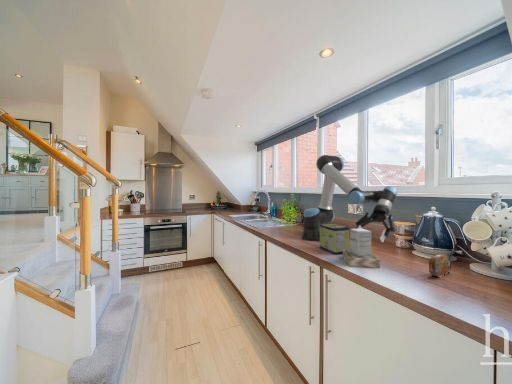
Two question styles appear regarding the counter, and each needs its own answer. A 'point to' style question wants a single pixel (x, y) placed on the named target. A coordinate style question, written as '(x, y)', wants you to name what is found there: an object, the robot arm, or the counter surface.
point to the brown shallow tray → (361, 260)
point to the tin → (439, 265)
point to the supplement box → (360, 242)
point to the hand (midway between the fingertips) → (368, 238)
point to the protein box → (334, 238)
